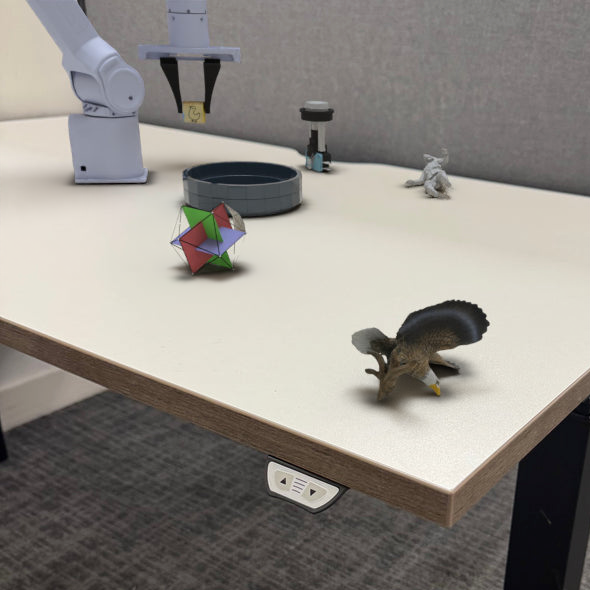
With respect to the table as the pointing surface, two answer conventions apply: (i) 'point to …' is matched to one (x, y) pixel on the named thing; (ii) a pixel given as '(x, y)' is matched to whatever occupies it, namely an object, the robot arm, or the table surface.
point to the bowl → (243, 187)
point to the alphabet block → (193, 111)
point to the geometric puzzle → (209, 236)
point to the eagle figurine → (421, 342)
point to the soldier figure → (433, 174)
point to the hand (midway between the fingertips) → (194, 112)
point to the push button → (317, 134)
